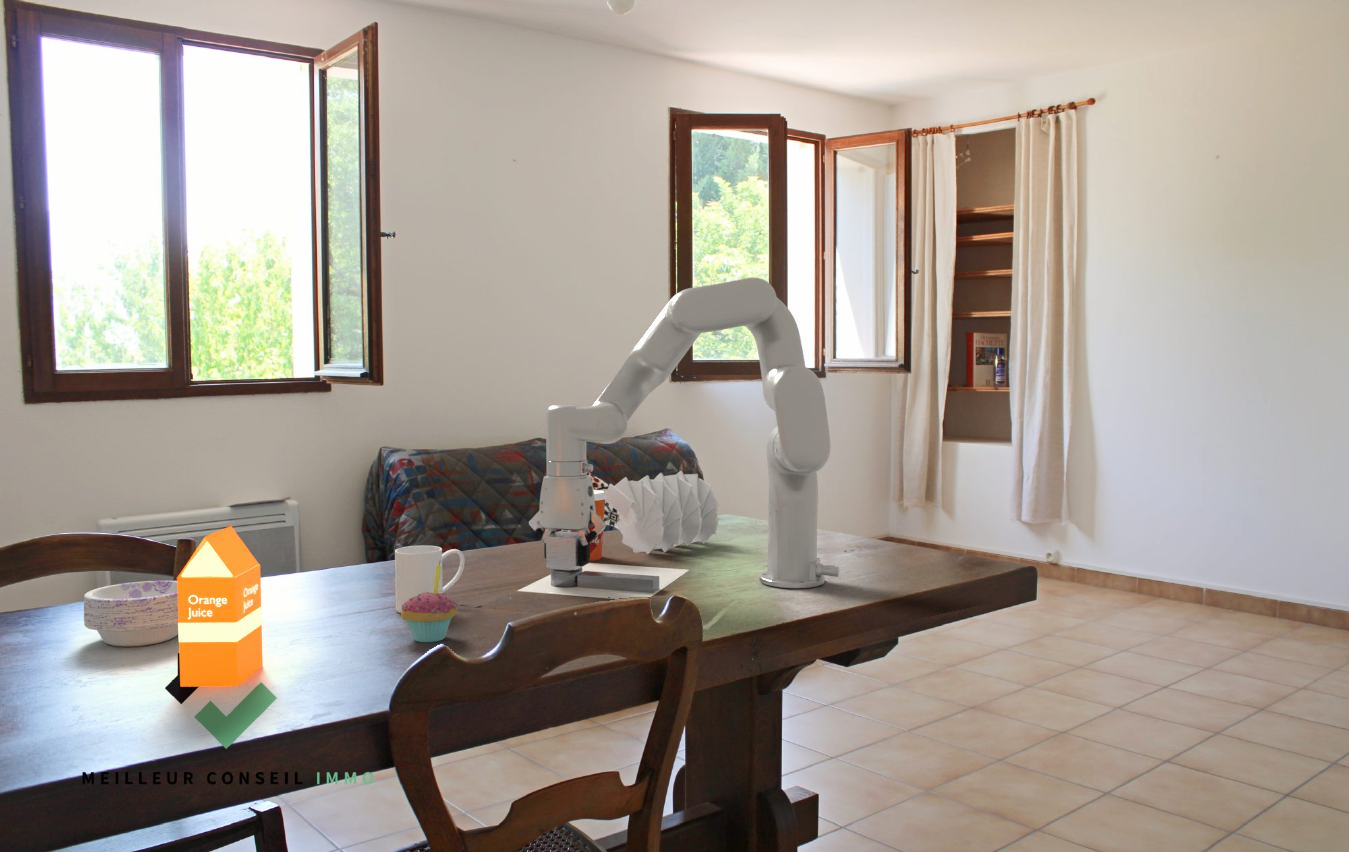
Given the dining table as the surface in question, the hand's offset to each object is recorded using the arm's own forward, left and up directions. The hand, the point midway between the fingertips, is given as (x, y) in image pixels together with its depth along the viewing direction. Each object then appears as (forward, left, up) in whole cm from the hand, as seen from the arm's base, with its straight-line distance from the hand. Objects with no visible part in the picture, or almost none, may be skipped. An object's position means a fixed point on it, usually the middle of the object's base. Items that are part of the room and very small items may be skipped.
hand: (567, 563), depth 190 cm
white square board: (-6, -6, -5) cm, 10 cm away
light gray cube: (0, 0, -1) cm, 1 cm away
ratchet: (-7, 0, -4) cm, 8 cm away
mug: (+16, +22, -5) cm, 28 cm away
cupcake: (+6, +39, -5) cm, 40 cm away
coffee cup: (+6, -25, -5) cm, 26 cm away
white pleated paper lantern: (-6, -43, -5) cm, 44 cm away
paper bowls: (+48, +53, -5) cm, 72 cm away
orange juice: (+23, +64, -5) cm, 68 cm away
